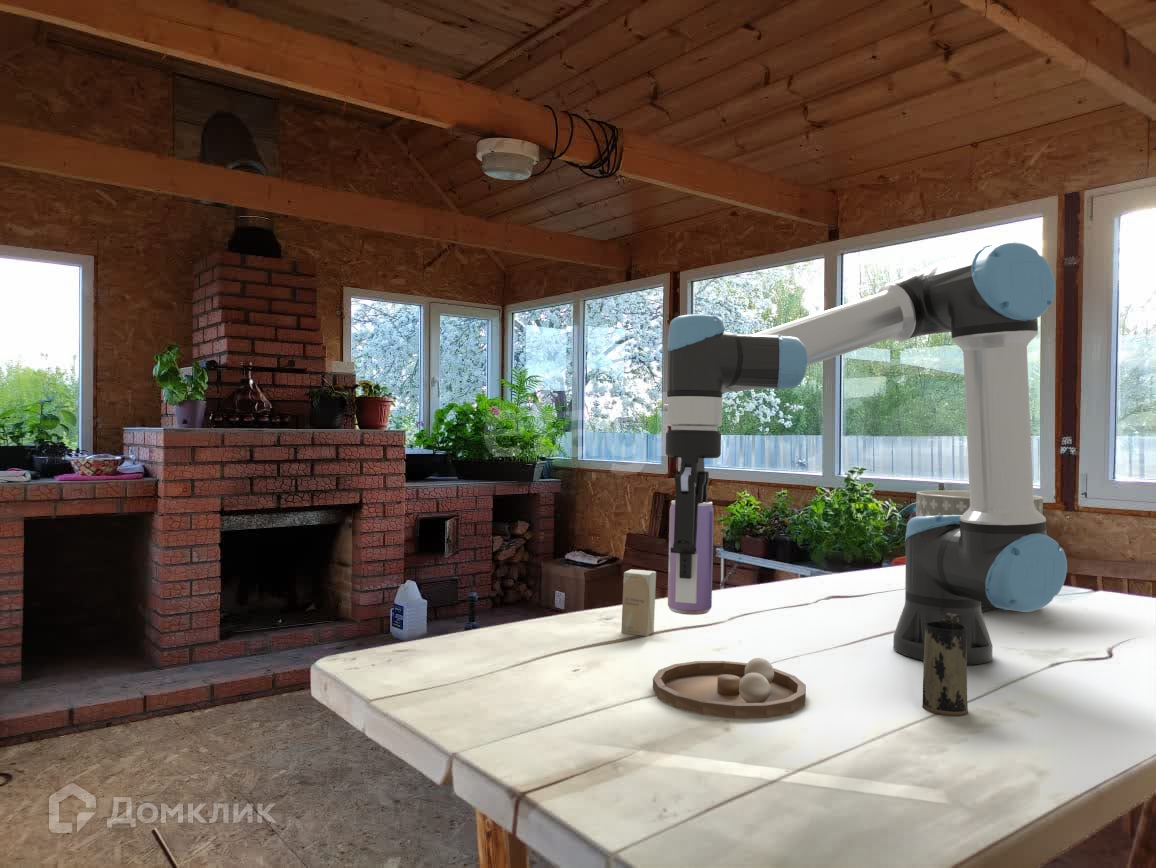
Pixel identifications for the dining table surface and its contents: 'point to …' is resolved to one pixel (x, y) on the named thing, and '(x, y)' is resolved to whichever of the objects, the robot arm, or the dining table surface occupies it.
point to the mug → (945, 667)
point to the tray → (708, 702)
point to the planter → (952, 506)
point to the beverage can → (703, 563)
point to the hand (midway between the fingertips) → (690, 597)
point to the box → (638, 602)
